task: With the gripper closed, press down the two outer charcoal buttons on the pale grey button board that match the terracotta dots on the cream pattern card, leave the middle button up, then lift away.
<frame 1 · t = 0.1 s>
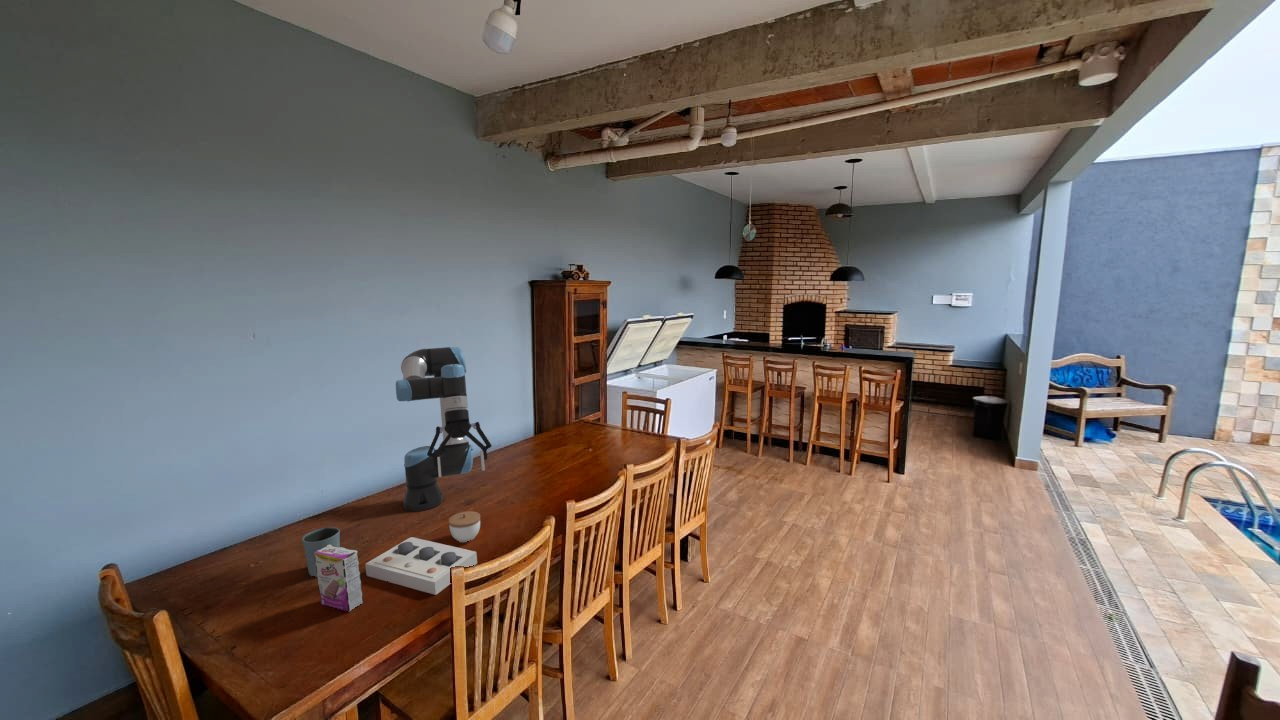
hand: (462, 473, 166), 28 cm above the table, tool tilted 20°, fingers open, 13 cm apart
candy bar box: (342, 605, 143), on the table
button c: (448, 559, 158), point 4 cm above the table, slide at 0.0 cm
button b: (426, 554, 161), point 4 cm above the table, slide at 0.0 cm
lidded jar: (466, 538, 180), on the table
grey plant pot: (325, 569, 161), on the table
button board: (422, 569, 160), on the table
button a: (405, 549, 164), point 4 cm above the table, slide at 0.0 cm
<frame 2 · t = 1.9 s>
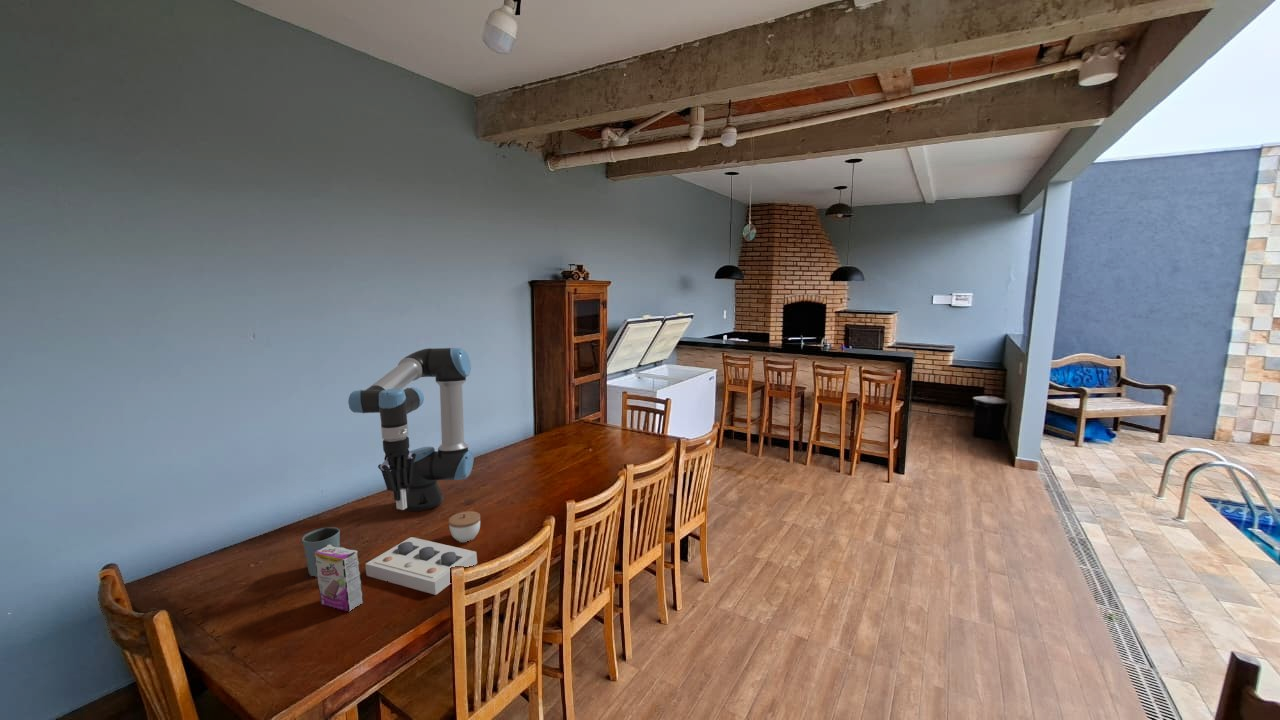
hand: (401, 508, 162), 18 cm above the table, tool pointing down, fingers closed
nothing on the table moved.
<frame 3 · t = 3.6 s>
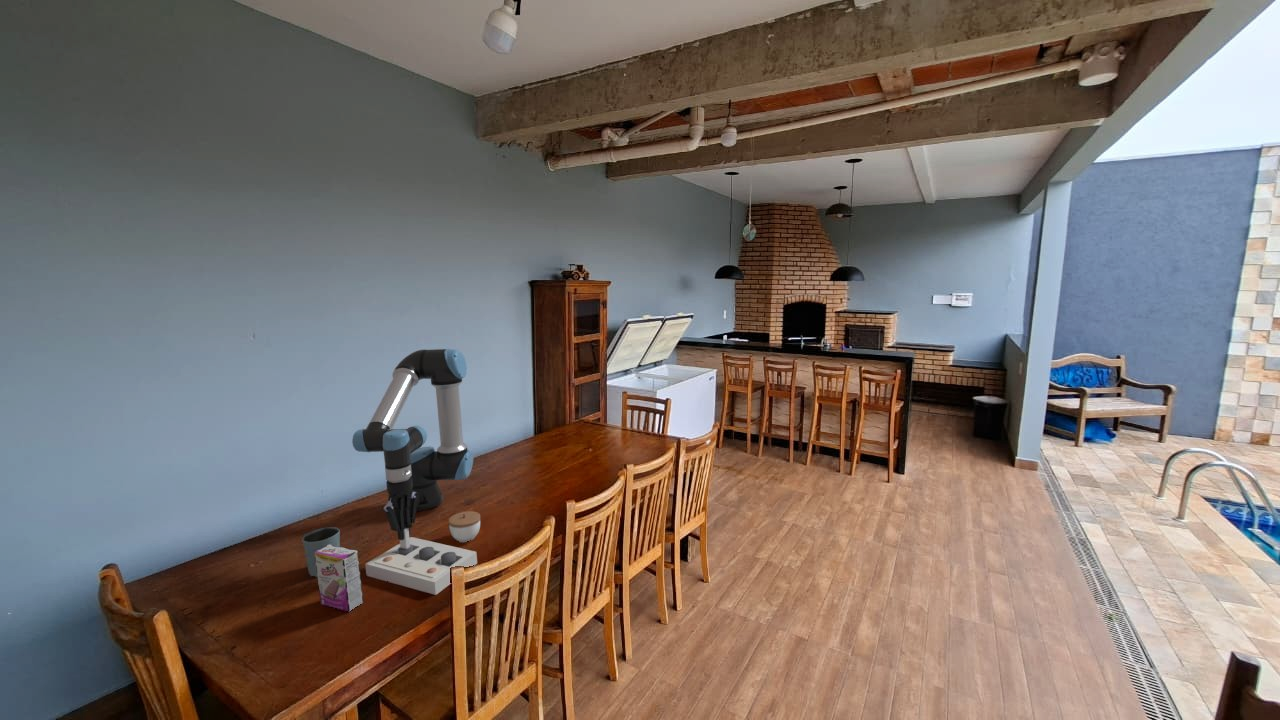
hand: (405, 547, 164), 5 cm above the table, tool pointing down, fingers closed
button a: (405, 551, 165), point 3 cm above the table, slide at 0.9 cm, touching gripper
everything else where it was.
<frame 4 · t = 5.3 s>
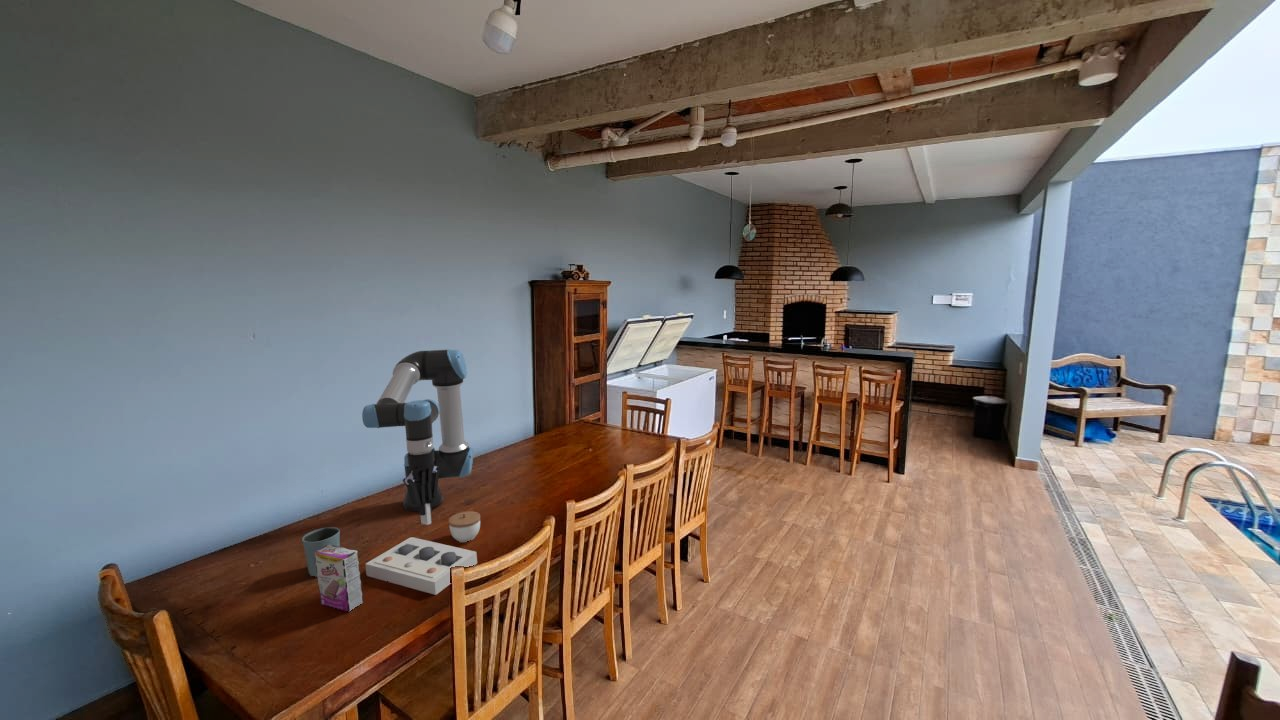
hand: (426, 523, 158), 15 cm above the table, tool pointing down, fingers closed
button a: (406, 552, 165), point 3 cm above the table, slide at 1.1 cm
everything else where it was.
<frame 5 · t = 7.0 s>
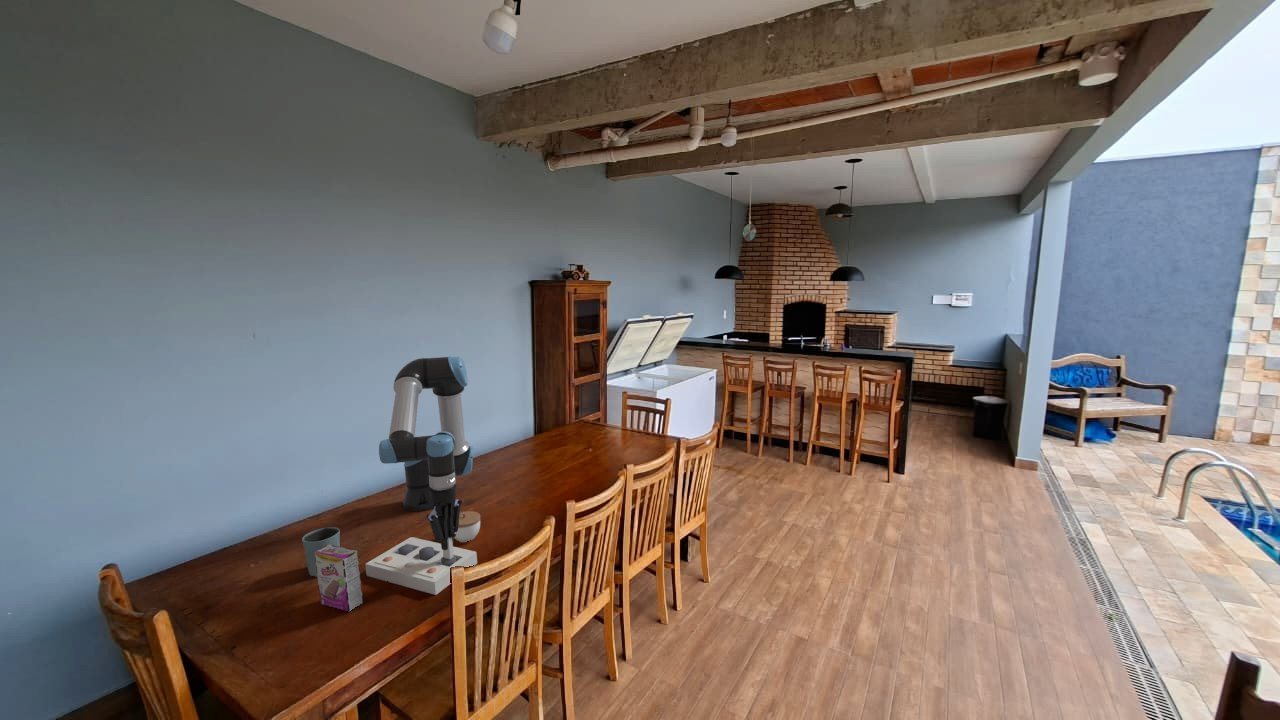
hand: (448, 557, 157), 5 cm above the table, tool pointing down, fingers closed
button c: (448, 562, 158), point 3 cm above the table, slide at 0.8 cm, touching gripper
everything else where it was.
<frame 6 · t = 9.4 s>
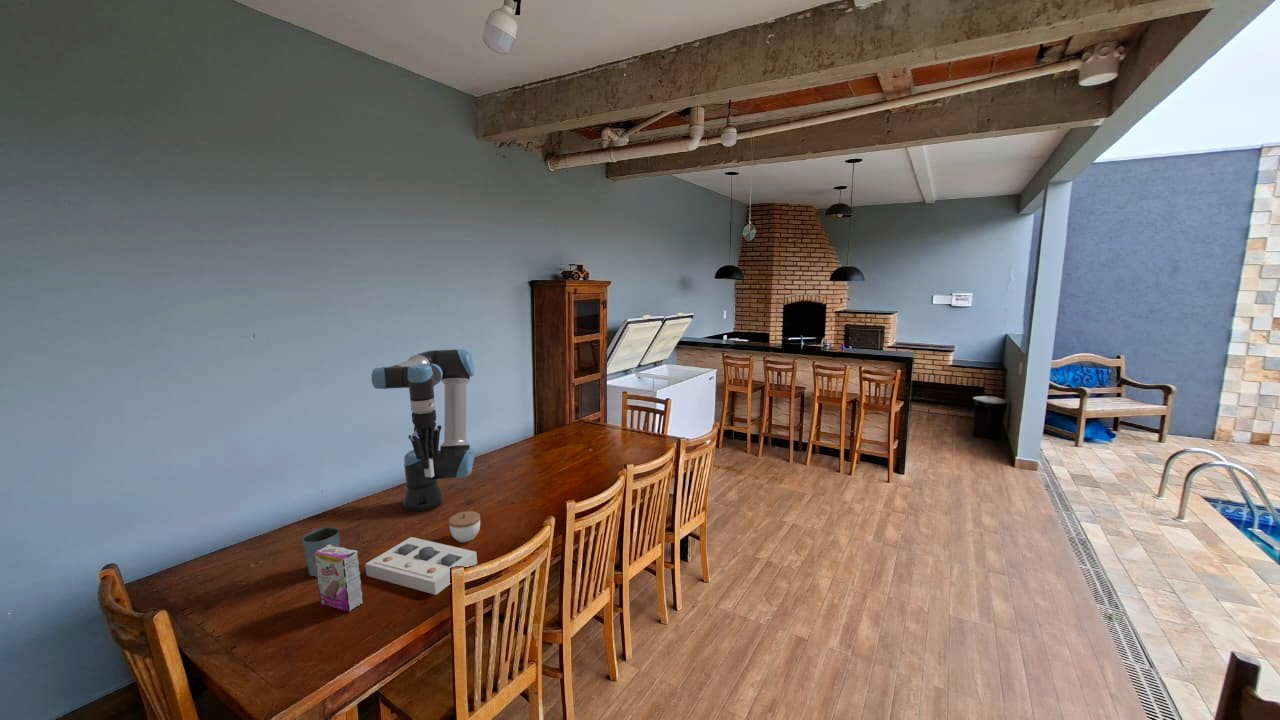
hand: (429, 476, 173), 24 cm above the table, tool pointing down, fingers closed
button c: (448, 563, 158), point 3 cm above the table, slide at 1.1 cm
everything else where it was.
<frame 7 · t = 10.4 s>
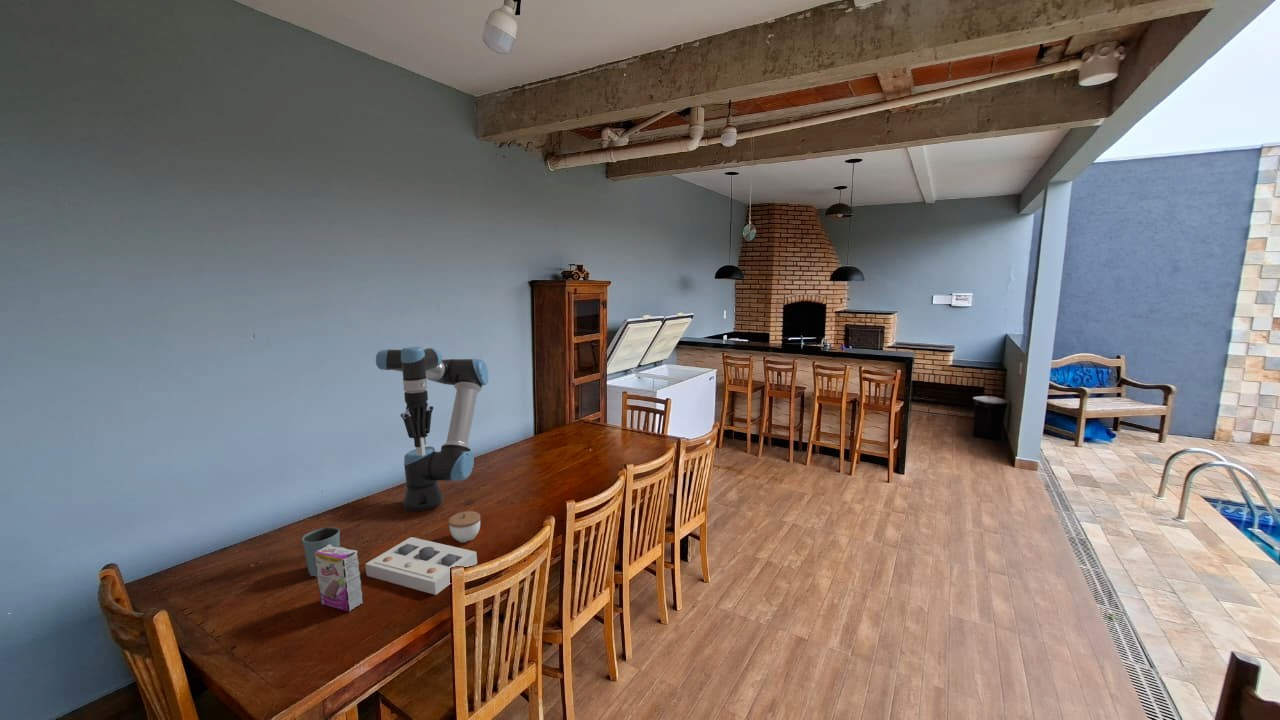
hand: (421, 454, 181), 29 cm above the table, tool pointing down, fingers closed
nothing on the table moved.
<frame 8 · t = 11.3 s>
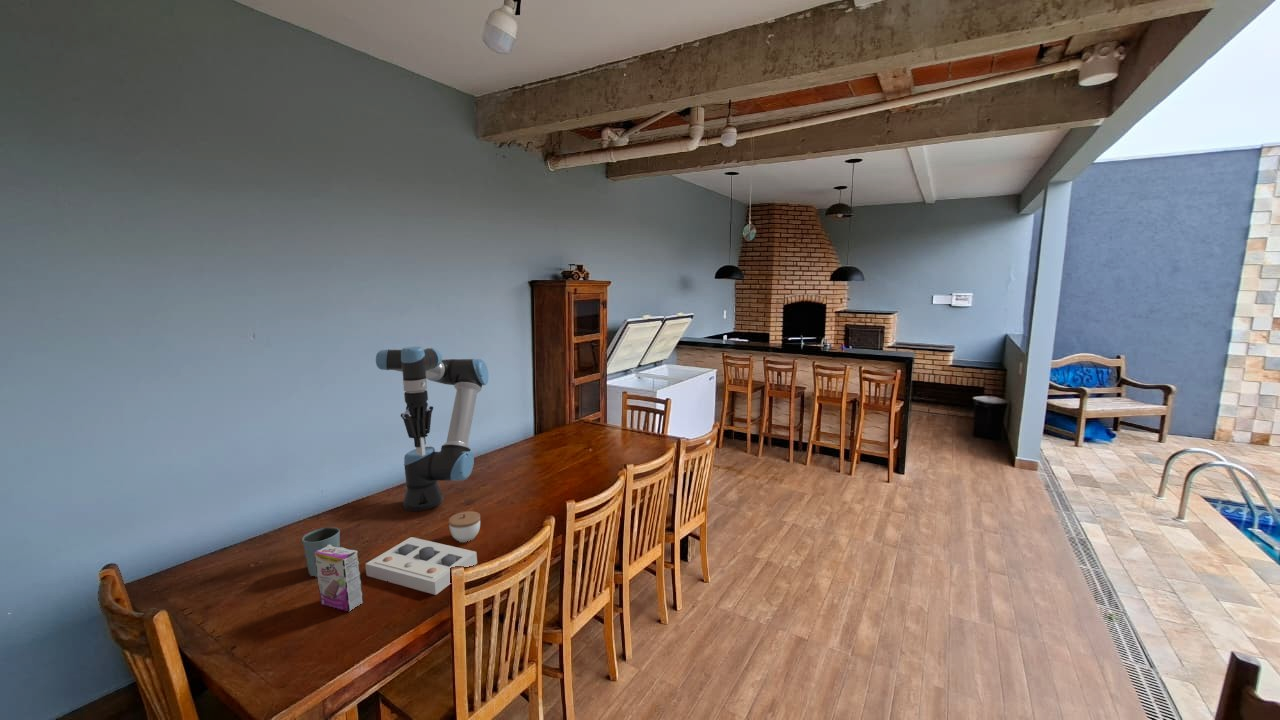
hand: (421, 454, 181), 29 cm above the table, tool pointing down, fingers closed
nothing on the table moved.
at the end: button a slide at 1.1 cm; button c slide at 1.1 cm; button b slide at 0.0 cm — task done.
